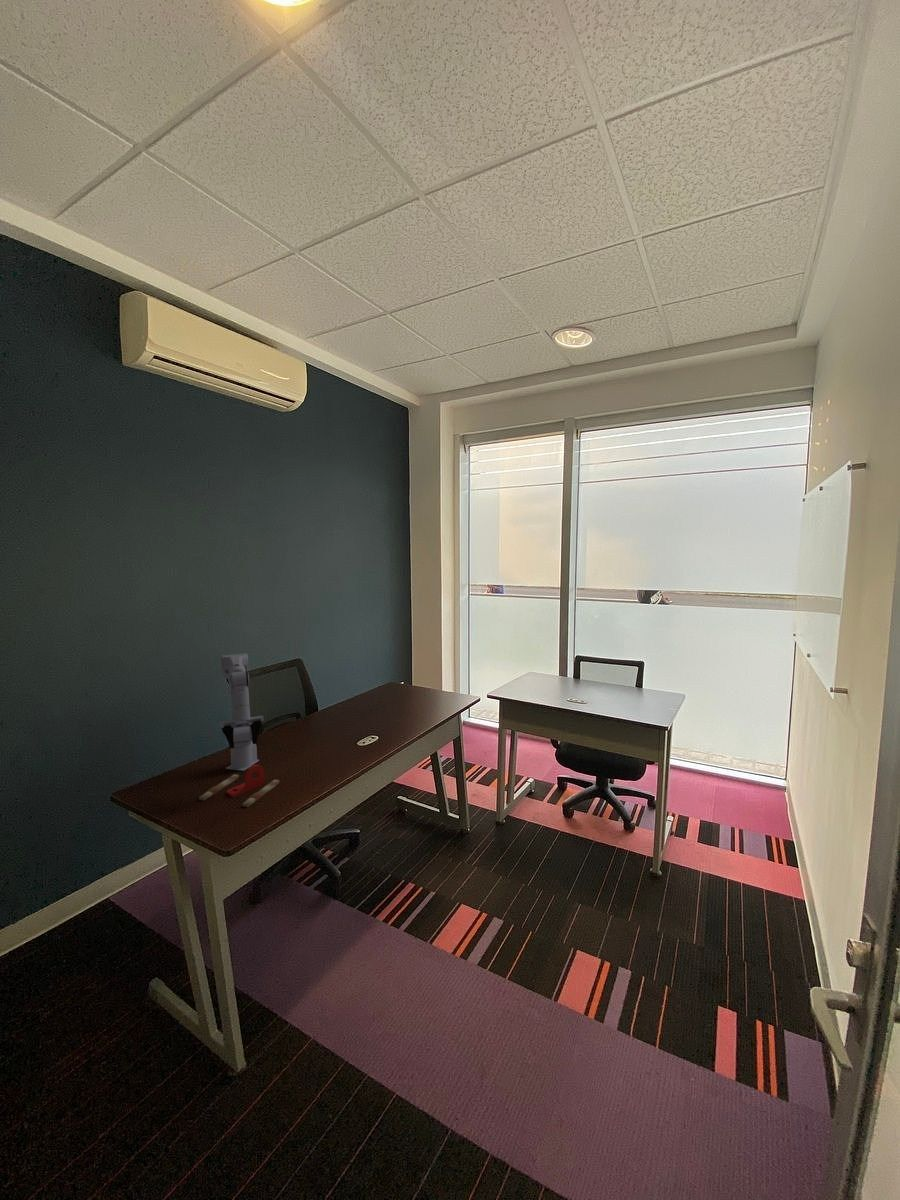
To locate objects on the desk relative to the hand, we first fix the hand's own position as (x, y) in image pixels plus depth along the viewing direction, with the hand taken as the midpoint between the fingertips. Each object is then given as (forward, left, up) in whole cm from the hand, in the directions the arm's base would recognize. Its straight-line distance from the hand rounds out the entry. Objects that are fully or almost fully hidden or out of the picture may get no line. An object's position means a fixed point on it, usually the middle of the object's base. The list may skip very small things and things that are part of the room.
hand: (243, 745), depth 168 cm
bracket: (-1, 0, -16) cm, 16 cm away
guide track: (+1, -1, -16) cm, 16 cm away
